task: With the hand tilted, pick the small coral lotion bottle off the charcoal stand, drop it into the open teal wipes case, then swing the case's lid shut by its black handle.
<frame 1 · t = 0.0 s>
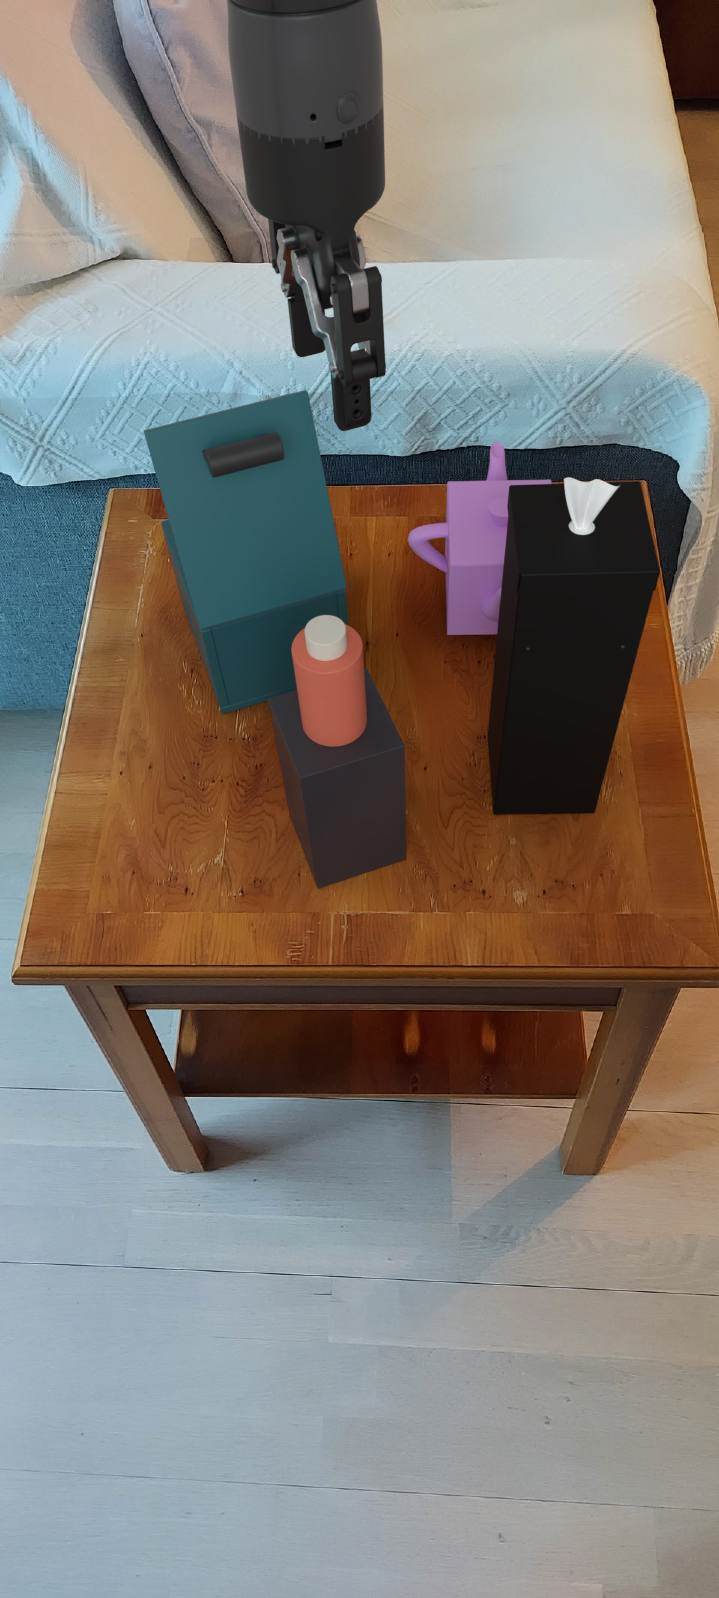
hand: (331, 387, 64), 27 cm above the table, tool pointing down, fingers open, 8 cm apart
teapot: (494, 604, 89), on the table
case lid: (257, 520, 70), point 18 cm above the table, hinge at 65.0°
stand: (346, 837, 76), on the table
lotion bottle: (334, 721, 64), point 14 cm above the table, touching stand
tissue box: (538, 776, 79), on the table
wipes case: (265, 640, 88), on the table
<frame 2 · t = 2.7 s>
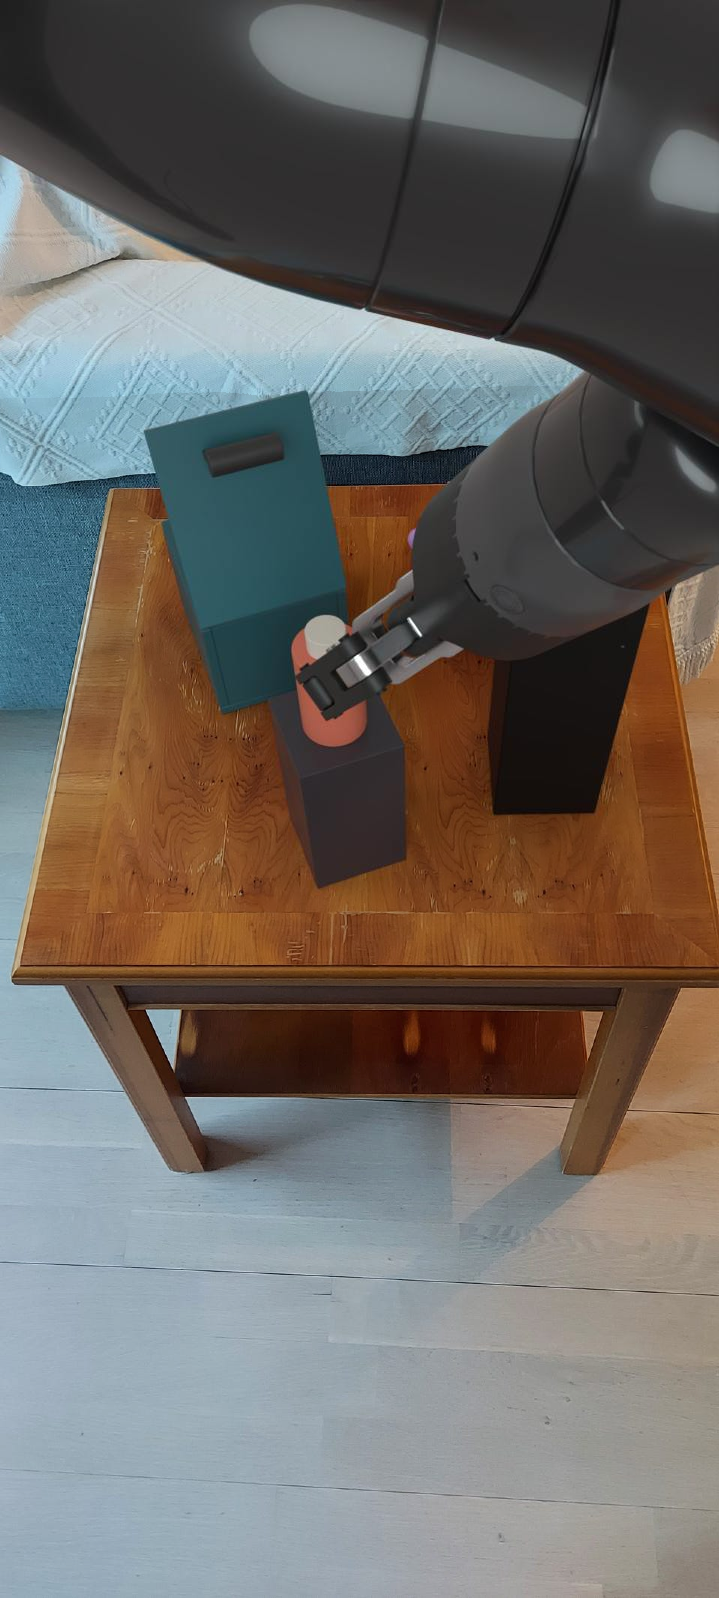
hand: (389, 638, 51), 27 cm above the table, tool tilted 35°, fingers open, 8 cm apart
nothing on the table moved.
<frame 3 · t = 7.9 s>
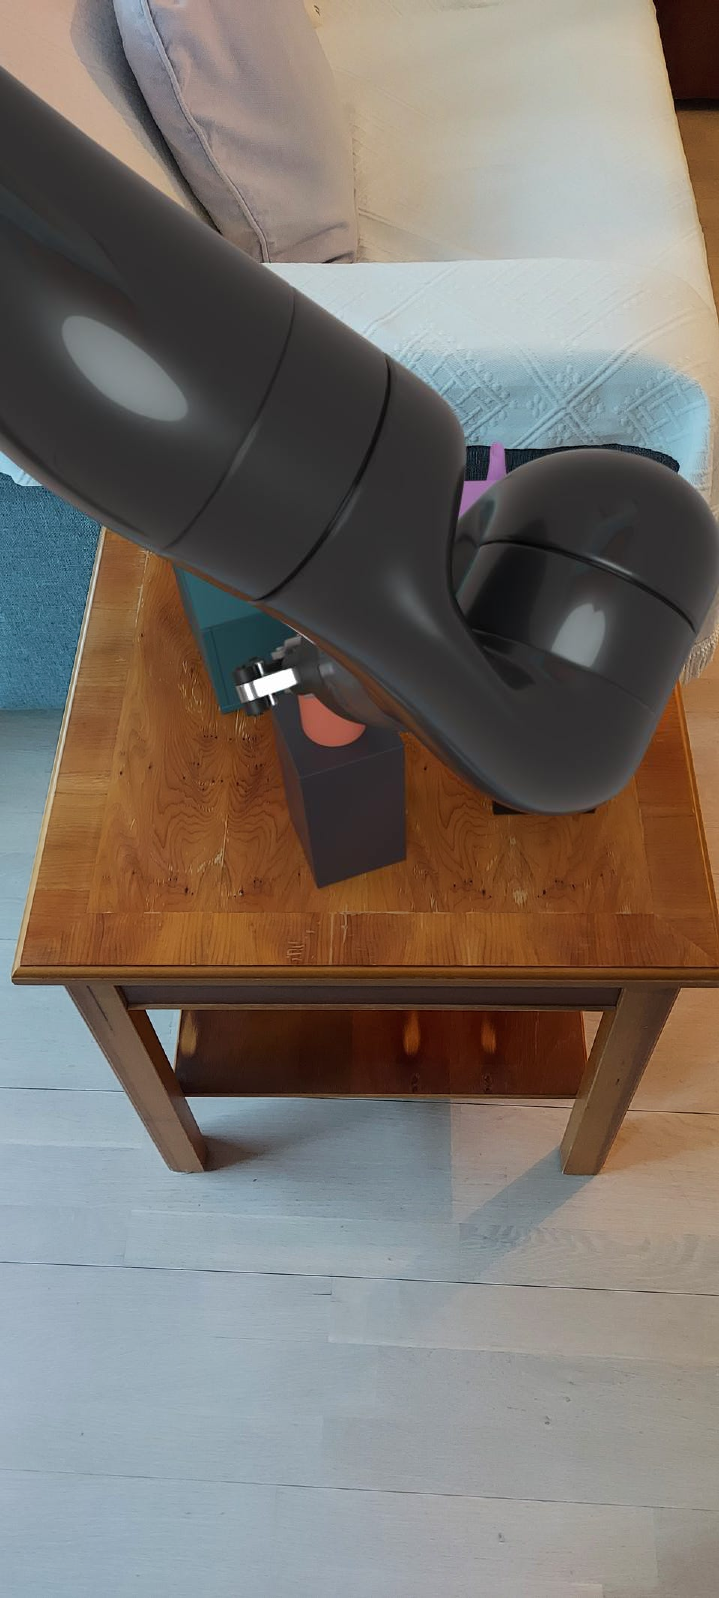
hand: (317, 654, 62), 18 cm above the table, tool tilted 45°, fingers closed on lotion bottle, 4 cm apart
lotion bottle: (334, 721, 64), point 14 cm above the table, touching gripper, stand
everything else where it was.
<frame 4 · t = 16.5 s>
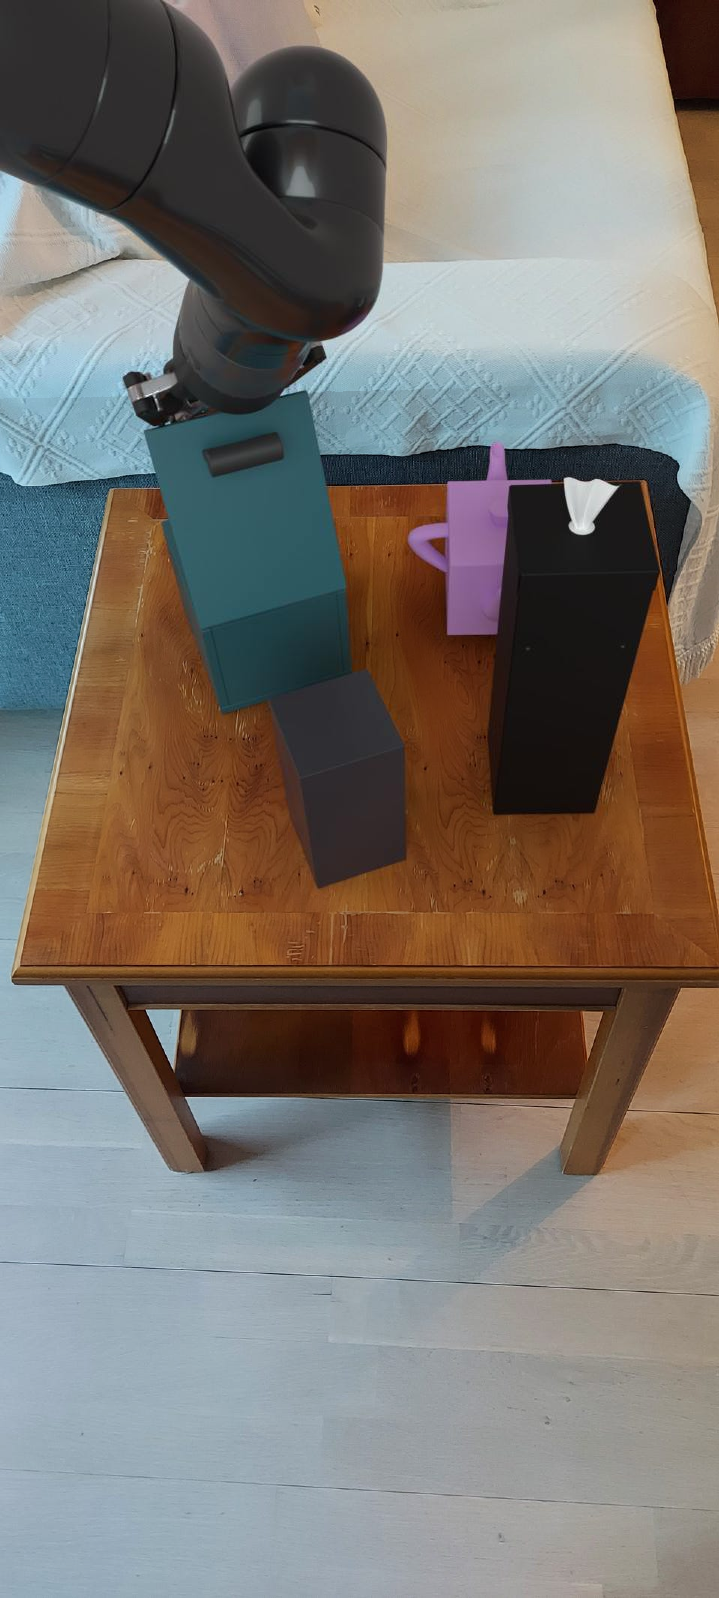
hand: (209, 404, 74), 20 cm above the table, tool tilted 45°, fingers closed on lotion bottle, 4 cm apart
lotion bottle: (228, 469, 77), point 16 cm above the table, touching gripper
everything else where it was.
when the fingers open (22 cm above the table, at t = 27.6 s): lotion bottle drops 17 cm, resting on wipes case.
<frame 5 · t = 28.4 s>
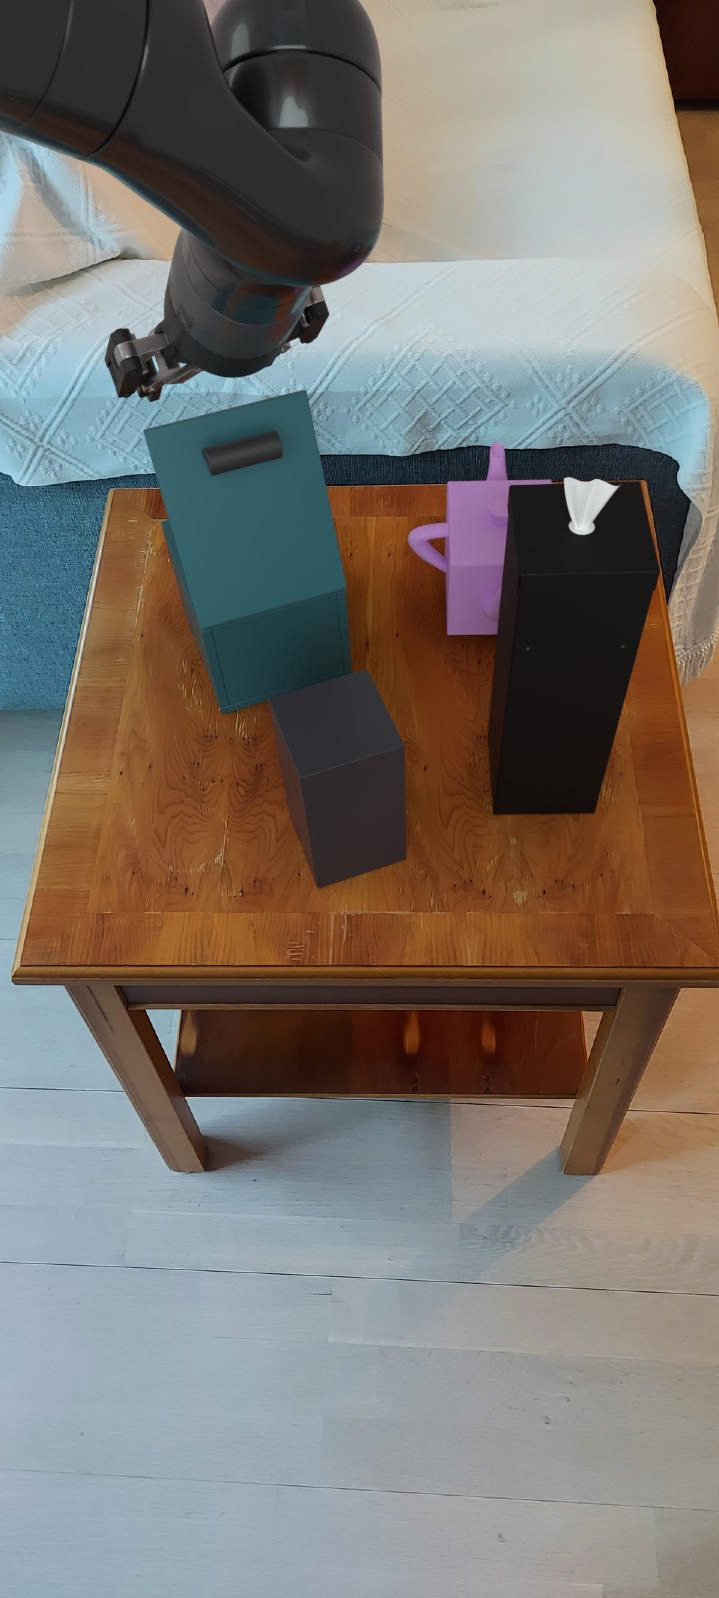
hand: (204, 370, 72), 23 cm above the table, tool tilted 45°, fingers open, 8 cm apart
case lid: (256, 519, 71), point 18 cm above the table, hinge at 63.6°
lotion bottle: (255, 606, 89), point 1 cm above the table, tilted 8°, touching wipes case
everything else where it was.
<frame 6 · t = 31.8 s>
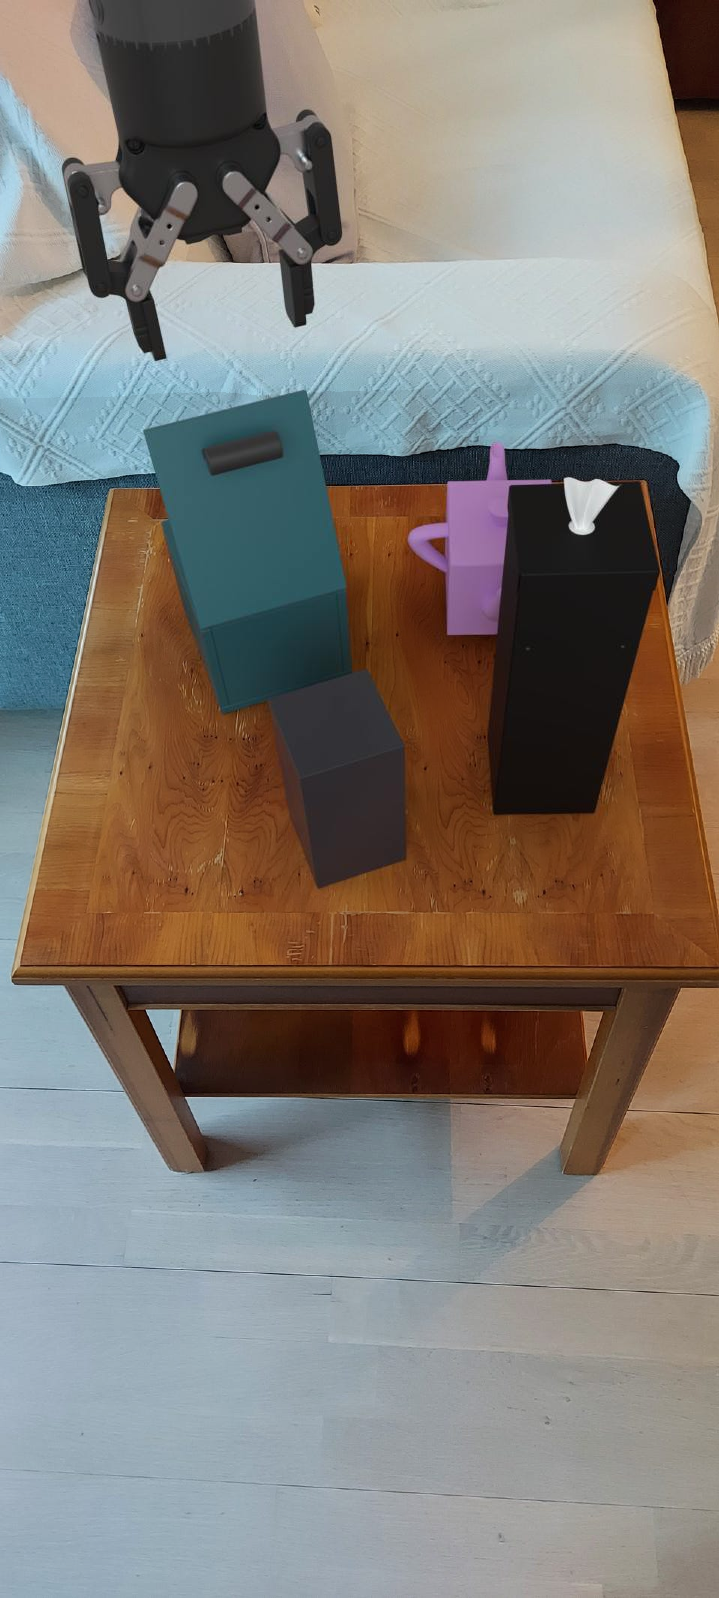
hand: (227, 336, 59), 31 cm above the table, tool pointing down, fingers open, 8 cm apart
lotion bottle: (255, 608, 89), point 1 cm above the table, touching wipes case
everything else where it was.
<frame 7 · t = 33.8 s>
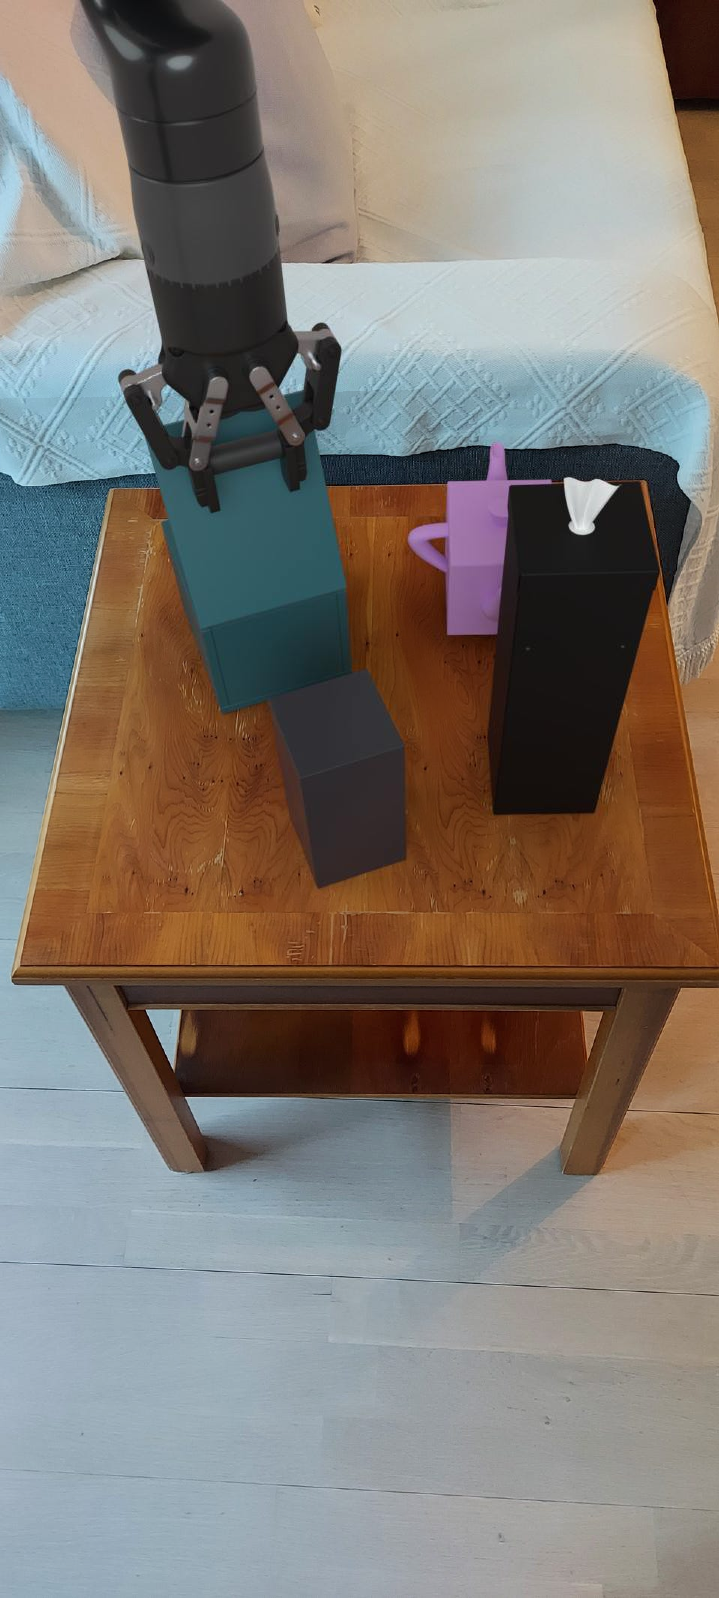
hand: (251, 493, 69), 20 cm above the table, tool pointing down, fingers closed on case lid, 5 cm apart
case lid: (256, 519, 71), point 18 cm above the table, hinge at 63.6°, touching gripper
everything else where it was.
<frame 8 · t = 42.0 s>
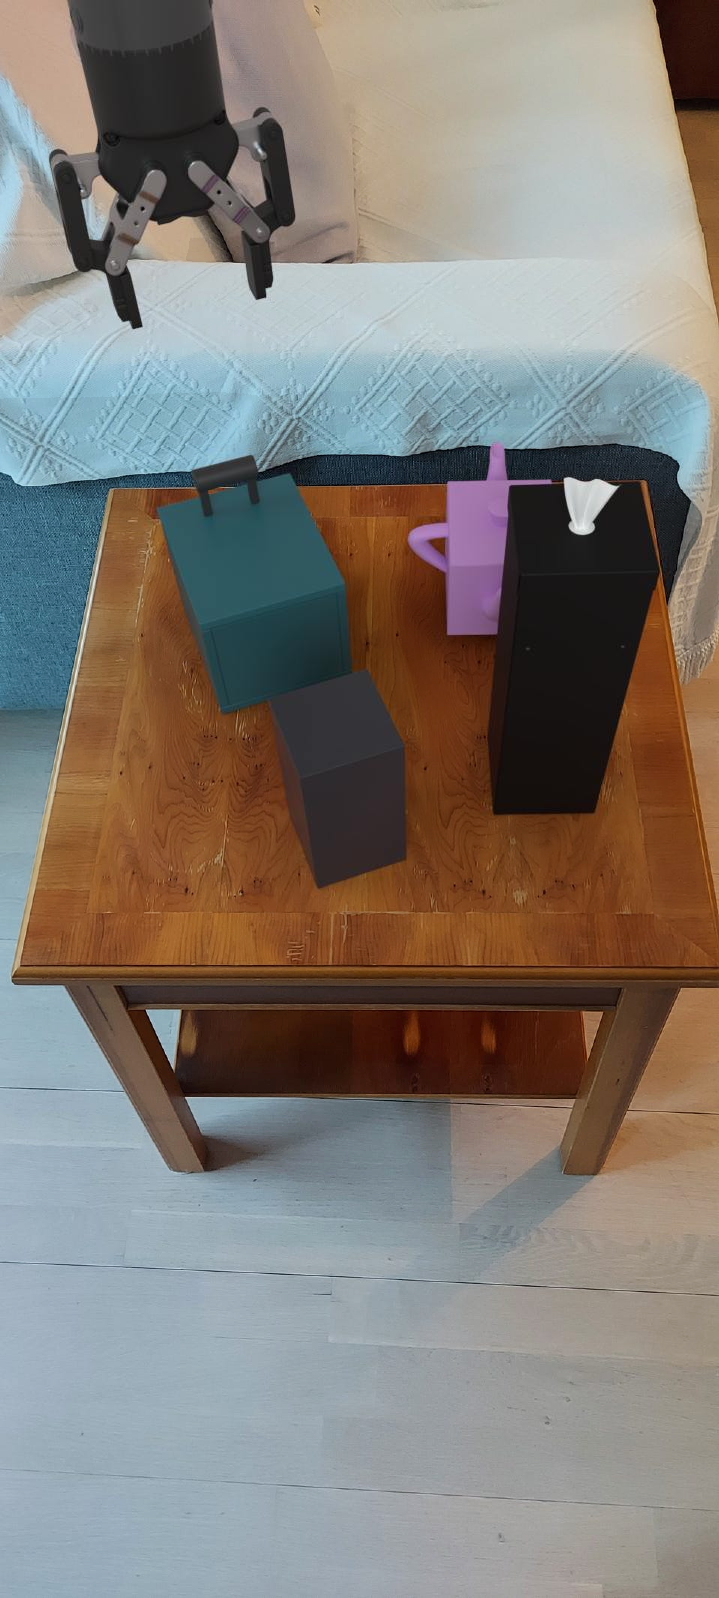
hand: (196, 307, 67), 28 cm above the table, tool pointing down, fingers open, 8 cm apart
case lid: (244, 526, 78), point 12 cm above the table, hinge at -0.2°, touching wipes case
everything else where it was.
at the end: lotion bottle inside the target area in the wipes case (3.3 cm from its centre), point 0.8 cm above the wipes case's base; case lid at +0° (first picture: +65°) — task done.
